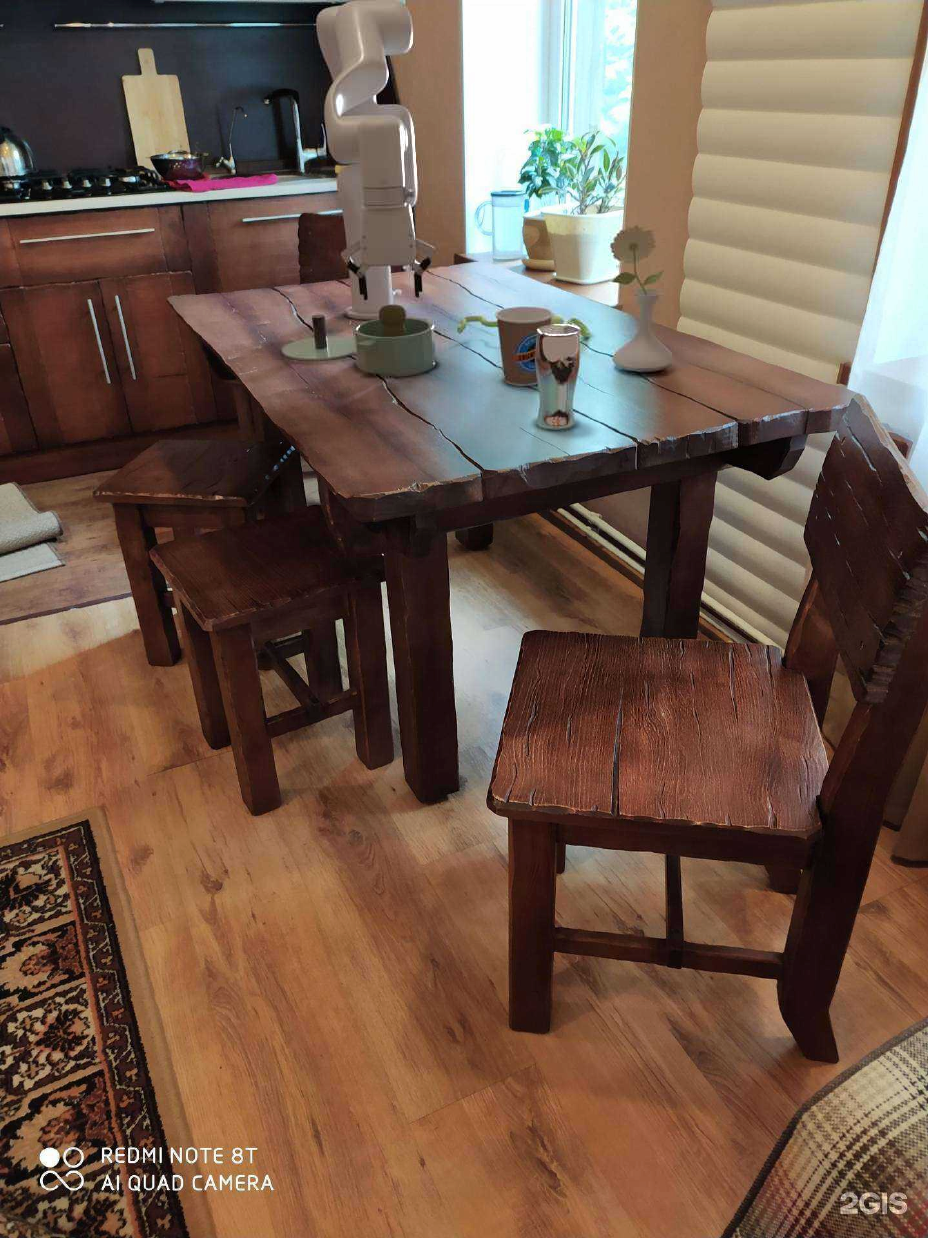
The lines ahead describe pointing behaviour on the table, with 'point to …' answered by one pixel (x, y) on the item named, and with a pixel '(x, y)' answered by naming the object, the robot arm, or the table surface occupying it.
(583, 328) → the figurine
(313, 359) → the lid
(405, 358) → the pot
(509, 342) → the coffee cup
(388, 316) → the cork
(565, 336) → the beer glass
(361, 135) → the robot arm
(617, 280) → the flower in vase
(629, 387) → the table surface
